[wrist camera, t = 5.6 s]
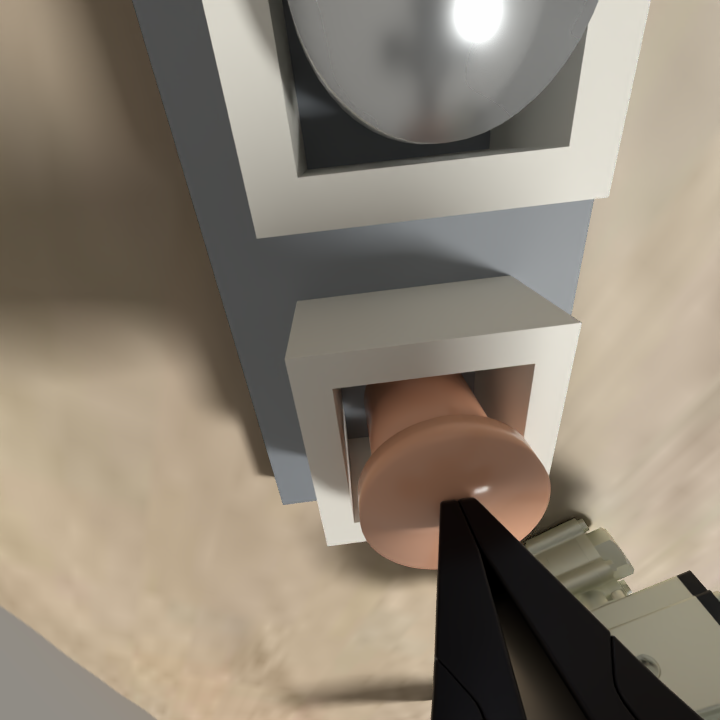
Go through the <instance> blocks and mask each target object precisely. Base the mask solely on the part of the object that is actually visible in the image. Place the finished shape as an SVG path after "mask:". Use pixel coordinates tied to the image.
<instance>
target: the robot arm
mask: <svg viewBox="0 0 720 720" xmlns="http://www.w3.org/2000/svg"><path fill="white" fill-rule="evenodd" d="M431 720H704V719H703V718H702V717H701V716H700V715H699V714H697V713H696V712H695V711H694V710H693V709H692V708H691V707H690V706H688V705H687V704H686V703H685V702H684V701H683V700H682V699H681V698H679V697H678V696H677V695H676V694H675V693H674V692H673V691H672V690H670V689H669V688H668V687H667V686H666V685H665V684H664V683H663V682H662V681H661V680H660V679H658V678H657V677H656V676H655V675H654V674H653V673H652V672H651V671H650V670H649V669H648V668H647V667H646V666H645V665H644V664H643V663H642V662H641V661H640V660H639V659H638V658H637V657H635V656H634V655H633V654H632V653H631V652H630V651H629V650H628V649H627V648H626V647H625V646H624V645H623V644H622V643H621V642H620V641H619V640H618V639H617V638H616V637H615V636H614V635H611V633H610V631H609V630H608V629H607V628H606V627H605V626H604V625H603V624H602V623H601V622H600V621H599V620H598V619H597V618H596V617H595V616H594V615H593V614H592V613H591V612H590V611H589V610H588V609H587V608H586V607H585V606H584V605H583V604H582V603H581V602H580V601H579V600H578V599H577V598H576V597H575V596H574V595H573V594H572V593H571V592H570V591H569V590H568V589H567V588H566V587H565V586H564V585H563V584H562V583H561V582H560V581H559V580H558V579H557V578H556V577H555V576H554V575H553V574H552V573H551V572H550V571H549V570H548V569H547V568H546V567H545V566H544V565H543V564H542V563H541V562H540V561H539V560H538V559H537V558H536V557H535V556H534V555H533V554H532V553H531V552H530V551H529V550H528V549H527V548H526V547H525V546H524V545H523V544H521V543H520V542H519V541H518V540H517V539H516V538H515V537H514V536H513V535H512V534H511V533H510V532H509V531H508V530H507V529H506V528H505V527H504V526H503V525H502V524H501V523H500V522H499V521H498V520H497V519H496V518H495V517H494V516H493V515H492V514H491V513H490V512H489V511H488V510H487V509H486V508H485V507H484V506H483V505H482V504H481V503H480V502H479V501H478V500H477V499H476V498H474V497H470V498H462V499H459V500H458V501H457V500H447V501H442V502H441V503H440V518H439V546H438V573H437V600H436V627H435V655H434V676H433V695H432V710H431Z"/></svg>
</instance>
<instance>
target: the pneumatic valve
mask: <svg viewBox="0 0 720 720" xmlns="http://www.w3.org/2000/svg"><path fill="white" fill-rule="evenodd" d="M584 529H585V530H584ZM588 530H589V528H588V527H587V525H586V524H585V522H584V521H583V519H580V520H577V521H576V519H575V518H574V519H571V520H569V521H567V522H565V523H563V524H561V525H559V526H557V527H554V528H552V529H550V530H548V531H546V532H544V533H542V534H540V535H538V536H535V537H533V538H531V539H529V540H527V541H525V542H526V545H525V547H526V548H527V549H528V550H529V551H530V552H531V553H532V554H533V555H534V556H535V557H536V558H537V559H538V560H539V561H540V562H541V563H542V564H543V565H544V566H545V567H546V568H547V569H548V570H549V571H550V572H551V573H552V574H553V575H554V576H555V577H556V578H557V579H558V580H559V581H560V582H561V583H562V584H563V585H564V586H565V587H566V588H567V589H568V590H569V591H570V592H571V593H572V594H573V595H574V596H575V597H576V598H577V599H578V600H579V601H580V602H581V603H582V604H583V605H584V606H585V607H586V608H587V609H588V610H589V611H590V612H591V613H592V614H593V615H594V616H595V617H596V618H597V619H598V620H599V621H600V622H601V623H602V624H603V625H604V626H605V627H606V628H607V629H608V630H609V631H610V633H611V635H614V636H615V637H616V638H617V639H618V640H619V641H620V642H621V643H622V644H623V645H624V646H625V647H626V648H627V649H628V650H629V651H630V652H631V653H632V654H633V655H634V656H635V657H637V658H638V659H639V660H640V661H641V662H642V663H643V664H644V665H645V666H646V667H647V668H648V669H649V670H650V671H651V672H652V673H653V674H654V675H655V676H656V677H657V678H658V679H660V680H661V681H662V682H663V683H664V684H665V685H666V686H667V687H668V688H669V689H670V690H672V691H673V692H674V693H675V694H676V695H677V696H678V697H679V698H681V699H682V700H683V701H684V702H685V703H686V704H687V705H688V706H690V707H691V708H692V709H693V710H694V711H695V712H696V713H697V714H699V715H700V716H701V717H702V718H703V719H704V720H720V592H718V591H715V592H713V593H712V592H711V591H710V590H707V589H706V588H705V587H704V586H703V585H702V584H701V582H700V581H699V580H698V579H697V578H696V577H695V575H694V574H693V573H692V572H691V571H687V572H685V573H682V574H680V575H677V576H675V577H672V578H670V579H667V580H665V581H663V582H660V583H658V584H655V585H653V586H650V587H648V588H645V589H643V590H640V591H638V592H635V593H633V594H631V593H632V591H631V590H630V588H629V587H628V585H627V584H626V582H625V581H624V580H622V581H617V580H619V579H622V578H624V577H627V576H629V575H631V574H633V572H634V568H633V567H632V565H631V563H630V562H629V561H628V559H627V558H626V556H625V555H624V553H623V552H622V550H621V549H620V548H619V546H618V545H617V544H616V542H615V541H614V539H613V538H612V537H611V535H610V534H609V533H608V532H607V530H606V529H603V528H599V529H597V530H594V531H592V532H590V533H588V534H585V532H586V531H588ZM622 585H623V586H622ZM624 588H625V589H624ZM626 591H627V592H626ZM629 594H630V595H629Z"/></svg>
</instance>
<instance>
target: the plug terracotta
mask: <svg viewBox="0 0 720 720" xmlns="http://www.w3.org/2000/svg"><path fill="white" fill-rule="evenodd" d="M364 407H365V414H366V421H367V428H368V435H369V442H370V449H371V456H370V458H369V459H368V461H367V462H366V464H365V466H364V468H363V470H362V472H361V474H360V478H359V481H358V489H357V490H358V504H359V516H360V525H361V529H362V533H363V535H364V537H365V539H366V541H367V542H368V543H369V545H370V546H371V547H372V548H373V549H374V550H375V551H376V552H377V553H379V554H380V555H382V556H383V557H385V558H387V559H389V560H390V561H393V562H395V563H398V564H400V565H404V566H408V567H413V568H419V569H438V546H439V518H440V503H441V502H442V501H447V500H457V501H458V500H459V499H462V498H470V497H474V498H476V499H477V500H478V501H479V502H480V503H481V504H482V505H483V506H484V507H485V508H486V509H487V510H488V511H489V512H490V513H491V514H492V515H493V516H494V517H495V518H496V519H497V520H498V521H499V522H500V523H501V524H502V525H503V526H504V527H505V528H506V529H507V530H508V531H509V532H510V533H511V534H512V535H513V536H514V537H515V538H516V539H517V540H518V541H521V540H522V539H523V538H524V537H525V536H527V535H528V534H529V533H530V532H531V531H532V530H533V529H534V527H535V526H536V525H537V524H538V522H539V521H540V520H541V518H542V517H543V515H544V513H545V511H546V509H547V506H548V503H549V500H550V493H551V486H550V480H549V476H548V473H547V471H546V469H545V467H544V466H543V464H542V463H541V461H540V460H539V458H538V457H537V456H536V454H535V453H534V451H533V450H532V448H531V447H530V445H529V444H528V443H527V441H526V440H525V439H524V437H523V436H522V435H521V434H520V433H519V432H517V431H516V430H515V429H514V428H512V427H510V426H509V425H507V424H505V423H503V422H501V421H498V420H496V419H492V418H489V417H487V415H486V414H485V412H484V410H483V409H482V407H481V405H480V404H479V402H478V400H477V399H476V397H475V395H474V394H473V392H472V391H471V389H470V387H469V386H468V384H467V382H466V381H465V379H464V377H463V376H462V374H461V373H456V374H448V375H440V376H432V377H424V378H416V379H408V380H400V381H392V382H384V383H376V384H368V385H367V386H366V389H365V392H364Z"/></svg>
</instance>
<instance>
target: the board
mask: <svg viewBox="0 0 720 720" xmlns="http://www.w3.org/2000/svg"><path fill="white" fill-rule="evenodd" d="M132 2H133V5H134V8H135V12H136V15H137V18H138V22H139V25H140V29H141V32H142V35H143V39H144V42H145V45H146V49H147V52H148V55H149V59H150V62H151V65H152V69H153V72H154V75H155V79H156V82H157V85H158V89H159V92H160V95H161V99H162V102H163V105H164V109H165V112H166V115H167V119H168V122H169V125H170V129H171V132H172V135H173V139H174V142H175V145H176V149H177V152H178V155H179V159H180V162H181V165H182V169H183V172H184V176H185V179H186V182H187V186H188V189H189V192H190V196H191V199H192V202H193V206H194V209H195V212H196V216H197V219H198V222H199V226H200V229H201V232H202V236H203V239H204V242H205V246H206V249H207V252H208V256H209V259H210V262H211V266H212V269H213V272H214V276H215V279H216V282H217V286H218V289H219V292H220V296H221V299H222V302H223V306H224V309H225V312H226V316H227V319H228V323H229V326H230V329H231V333H232V336H233V339H234V343H235V346H236V349H237V353H238V356H239V359H240V363H241V366H242V369H243V373H244V376H245V379H246V383H247V386H248V389H249V393H250V396H251V399H252V403H253V406H254V409H255V413H256V416H257V419H258V423H259V426H260V429H261V433H262V436H263V439H264V443H265V446H266V449H267V453H268V456H269V459H270V463H271V466H272V470H273V473H274V476H275V480H276V483H277V486H278V490H279V493H280V496H281V500H282V503H283V505H286V504H294V503H301V502H309V501H317V502H318V507H319V511H320V515H321V520H322V524H323V528H324V533H325V537H326V542H327V546H334V545H342V544H349V543H357V542H364V541H366V539H365V537H364V535H363V533H362V529H361V525H360V516H359V504H358V490H357V489H358V481H359V478H360V474H361V472H362V470H363V468H364V466H365V464H366V462H367V461H368V459H369V458H370V456H371V449H370V442H369V435H368V428H367V421H366V414H365V407H364V392H365V389H366V386H367V385H368V384H376V383H384V382H392V381H400V380H408V379H416V378H424V377H432V376H440V375H448V374H456V373H461V374H462V376H463V377H464V379H465V381H466V382H467V384H468V386H469V387H470V389H471V391H472V392H473V394H474V395H475V397H476V399H477V400H478V402H479V404H480V405H481V407H482V409H483V410H484V412H485V414H486V415H487V417H489V418H492V419H496V420H498V421H501V422H503V423H505V424H507V425H509V426H510V427H512V428H514V429H515V430H516V431H517V432H519V433H520V434H521V435H522V436H523V437H524V439H525V440H526V441H527V443H528V444H529V445H530V447H531V448H532V450H533V451H534V453H535V454H536V456H537V457H538V458H539V460H540V461H541V463H542V464H543V466H544V467H545V469H546V471H547V473H548V476H549V473H550V469H551V464H552V459H553V455H554V450H555V445H556V441H557V436H558V431H559V427H560V422H561V417H562V413H563V408H564V403H565V399H566V394H567V389H568V385H569V380H570V375H571V371H572V366H573V361H574V357H575V352H576V347H577V343H578V338H579V333H580V329H581V324H582V323H581V322H580V321H578V320H577V319H575V318H574V317H572V316H571V313H572V308H573V303H574V298H575V293H576V288H577V283H578V278H579V273H580V268H581V263H582V258H583V252H584V247H585V242H586V237H587V232H588V227H589V222H590V217H591V212H592V207H593V202H594V199H598V198H606V197H609V193H610V188H611V184H612V179H613V174H614V170H615V165H616V160H617V156H618V151H619V146H620V142H621V137H622V132H623V128H624V123H625V118H626V114H627V109H628V104H629V100H630V95H631V90H632V86H633V81H634V76H635V72H636V67H637V62H638V58H639V53H640V48H641V44H642V39H643V34H644V30H645V25H646V20H647V16H648V11H649V6H650V2H651V0H599V1H598V3H597V6H596V8H595V11H594V13H593V15H592V17H591V19H590V21H589V23H588V25H587V27H586V29H585V31H584V33H583V35H582V37H581V39H580V41H579V42H578V44H577V46H576V47H575V49H574V50H573V52H572V54H571V55H570V57H569V58H568V60H567V61H566V63H565V64H564V65H563V67H562V68H561V69H560V71H559V72H558V73H557V75H556V76H555V77H554V78H553V80H552V81H551V82H550V83H549V84H548V85H547V86H546V87H545V89H544V90H543V91H542V92H541V93H540V94H539V95H538V96H537V97H536V98H535V99H534V100H533V101H531V102H530V103H529V104H528V105H527V106H526V107H524V108H523V109H522V110H521V111H520V112H519V113H517V114H516V115H514V116H513V117H511V118H510V119H508V120H507V121H505V122H504V123H502V124H500V125H498V126H497V127H495V128H493V129H491V130H489V131H487V132H485V133H482V134H479V135H476V136H473V137H470V138H468V139H464V140H458V141H453V142H448V143H437V144H413V143H404V142H400V141H396V140H393V139H389V138H386V137H384V136H382V135H379V134H377V133H375V132H373V131H371V130H369V129H368V128H366V127H365V126H363V125H362V124H360V123H358V122H357V121H356V120H354V119H353V118H352V117H351V116H350V115H349V114H347V113H346V112H345V111H344V110H343V109H342V108H341V107H340V106H339V105H338V104H337V103H336V101H335V100H334V99H333V98H332V97H331V96H330V95H329V93H328V92H327V91H326V89H325V88H324V86H323V85H322V83H321V82H320V81H319V79H318V78H317V76H316V74H315V72H314V70H313V69H312V67H311V65H310V63H309V61H308V59H307V58H306V55H305V53H304V50H303V48H302V45H301V43H300V41H299V38H298V36H297V32H296V29H295V26H294V22H293V19H292V15H291V12H290V8H289V5H288V1H287V0H132Z"/></svg>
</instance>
